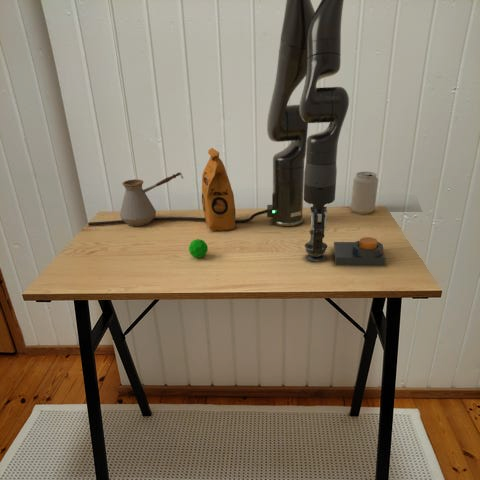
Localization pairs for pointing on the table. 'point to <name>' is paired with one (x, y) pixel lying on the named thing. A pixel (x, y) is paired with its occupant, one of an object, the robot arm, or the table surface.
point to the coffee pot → (139, 202)
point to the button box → (358, 254)
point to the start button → (368, 243)
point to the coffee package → (217, 195)
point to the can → (364, 192)
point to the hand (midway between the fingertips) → (316, 244)
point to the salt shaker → (313, 255)
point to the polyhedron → (198, 248)
